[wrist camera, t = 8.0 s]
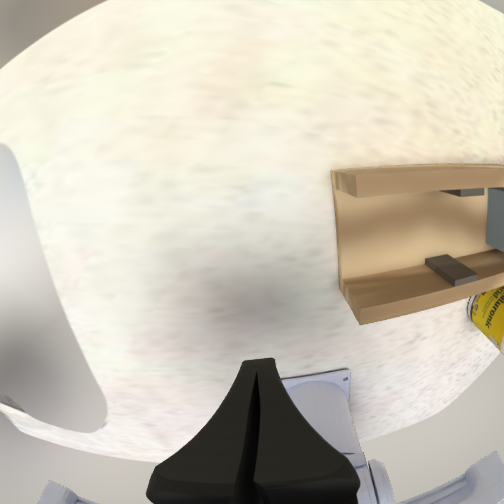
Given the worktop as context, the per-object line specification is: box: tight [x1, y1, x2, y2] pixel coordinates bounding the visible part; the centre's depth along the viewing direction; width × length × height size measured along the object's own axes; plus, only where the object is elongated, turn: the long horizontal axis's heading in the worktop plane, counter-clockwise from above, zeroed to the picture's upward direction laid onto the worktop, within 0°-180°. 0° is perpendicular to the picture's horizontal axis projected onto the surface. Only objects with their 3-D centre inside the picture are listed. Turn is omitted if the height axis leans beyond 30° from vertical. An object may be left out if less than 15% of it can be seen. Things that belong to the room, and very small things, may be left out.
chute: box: [331, 164, 504, 325], centre depth 17 cm, size 9×19×5 cm, turn 99°
